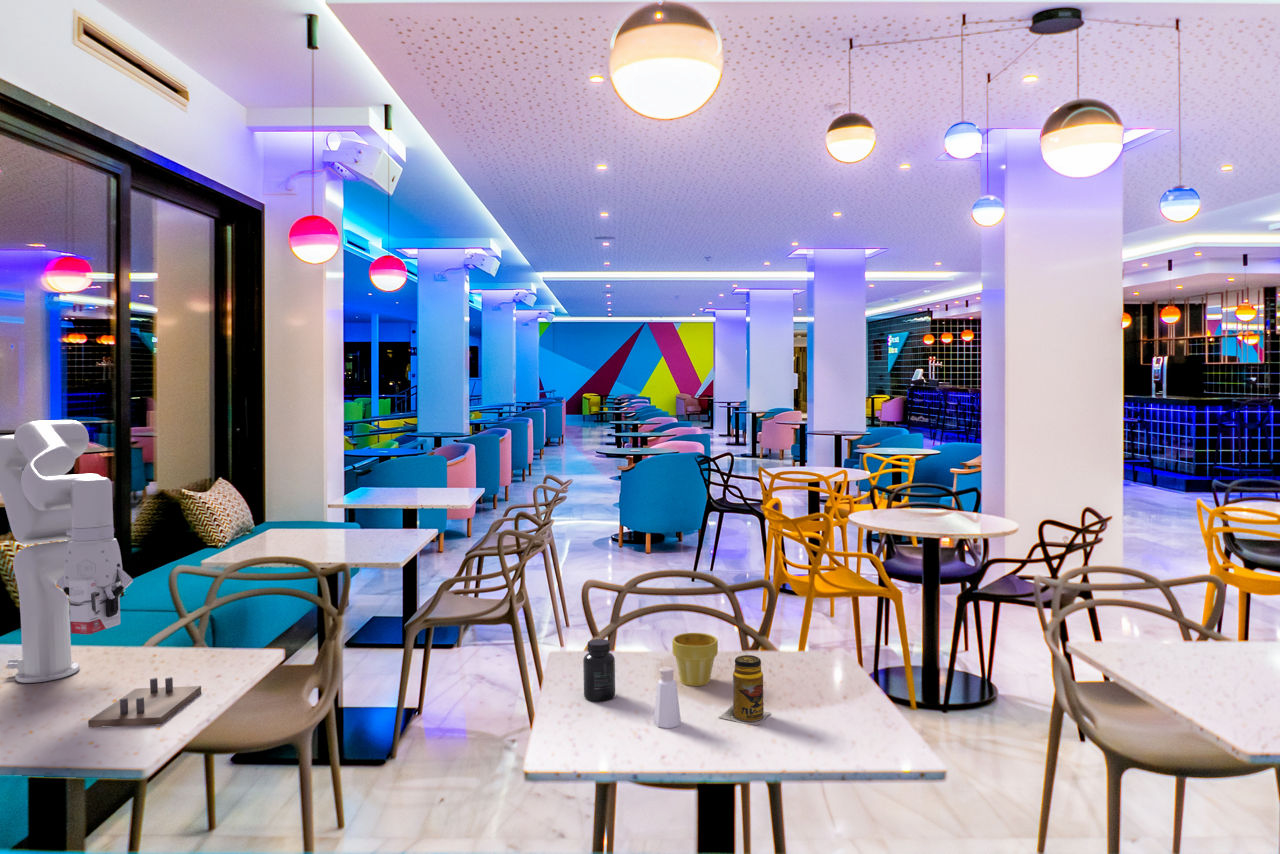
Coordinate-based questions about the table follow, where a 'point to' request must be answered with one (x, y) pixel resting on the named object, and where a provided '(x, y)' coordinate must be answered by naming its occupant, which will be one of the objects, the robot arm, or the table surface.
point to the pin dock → (146, 705)
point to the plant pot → (695, 657)
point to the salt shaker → (667, 700)
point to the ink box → (89, 607)
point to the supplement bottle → (599, 671)
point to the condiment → (747, 692)
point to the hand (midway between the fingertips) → (96, 615)
